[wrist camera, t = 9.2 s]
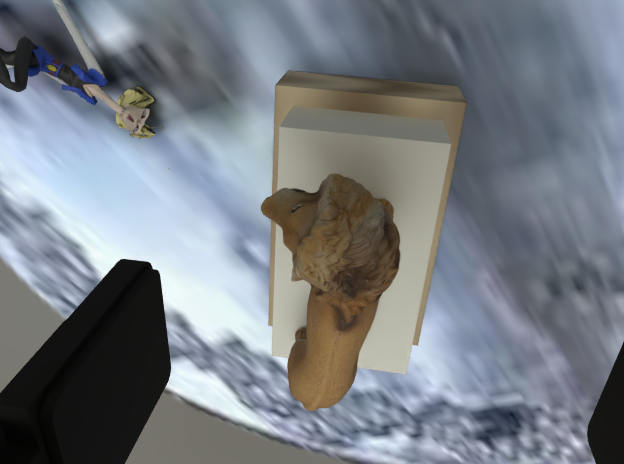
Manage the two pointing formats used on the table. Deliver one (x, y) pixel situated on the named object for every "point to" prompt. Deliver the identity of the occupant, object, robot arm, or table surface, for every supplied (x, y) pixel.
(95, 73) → the figurine
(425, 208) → the cream brick
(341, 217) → the lion figurine
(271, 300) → the oak base brick
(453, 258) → the table surface
